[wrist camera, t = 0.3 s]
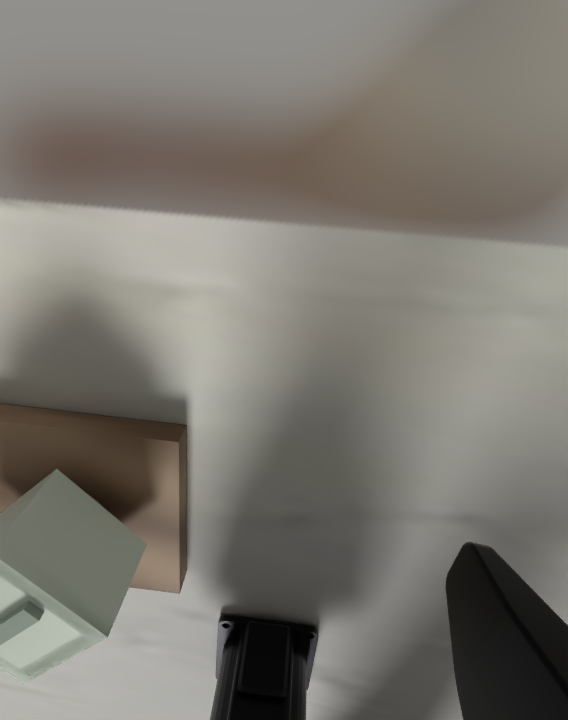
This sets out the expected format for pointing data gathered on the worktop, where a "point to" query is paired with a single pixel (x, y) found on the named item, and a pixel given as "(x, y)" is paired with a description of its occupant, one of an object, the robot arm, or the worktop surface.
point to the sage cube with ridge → (59, 575)
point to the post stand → (107, 476)
